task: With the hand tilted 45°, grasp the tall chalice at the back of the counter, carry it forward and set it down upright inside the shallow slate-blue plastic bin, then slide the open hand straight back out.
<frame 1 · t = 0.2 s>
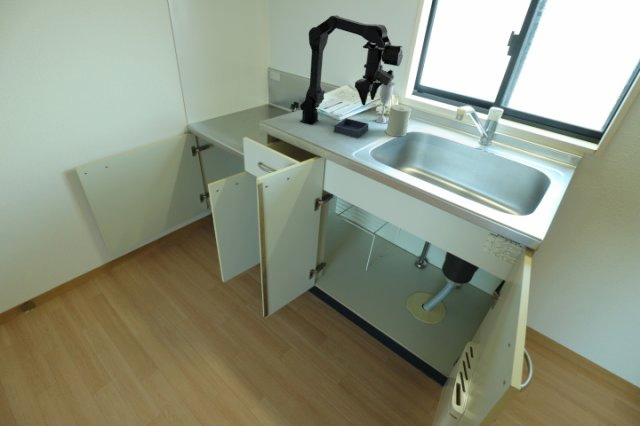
hand: (368, 102, 136), 14 cm above the counter, tool pointing down, fingers open, 9 cm apart
can: (396, 133, 149), on the counter
bin: (351, 130, 148), on the counter
chalice: (381, 121, 160), on the counter
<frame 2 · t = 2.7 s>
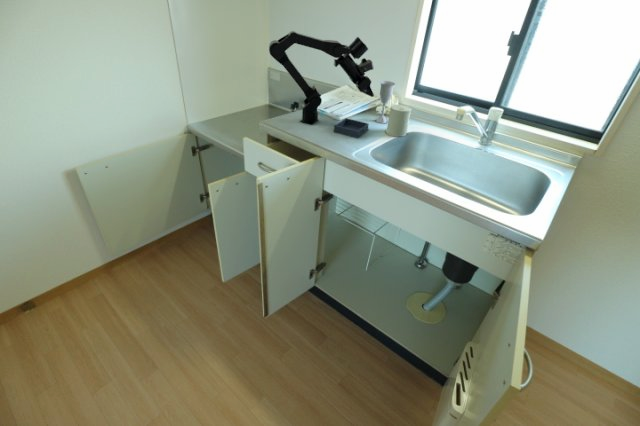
hand: (370, 93, 151), 13 cm above the counter, tool tilted 45°, fingers open, 9 cm apart
nothing on the counter moved.
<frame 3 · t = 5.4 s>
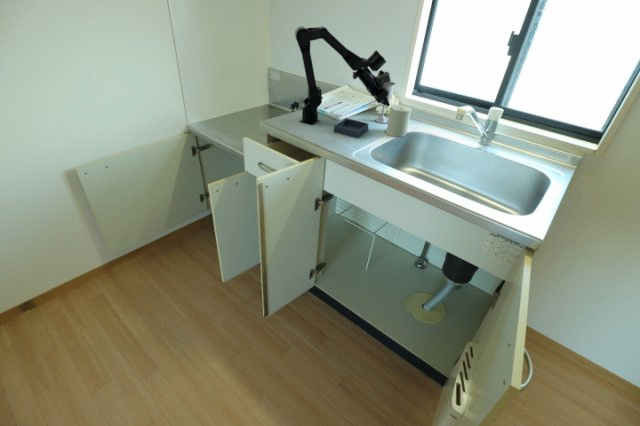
hand: (387, 103, 156), 9 cm above the counter, tool tilted 45°, fingers closed on chalice, 6 cm apart
chalice: (381, 121, 160), on the counter, touching gripper
everything else where it was.
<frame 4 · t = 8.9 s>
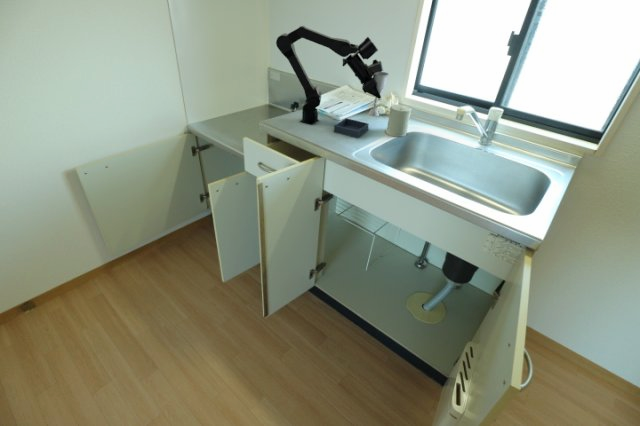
hand: (379, 95, 146), 14 cm above the counter, tool tilted 45°, fingers closed on chalice, 6 cm apart
chalice: (373, 115, 151), point 5 cm above the counter, touching gripper
everything else where it was.
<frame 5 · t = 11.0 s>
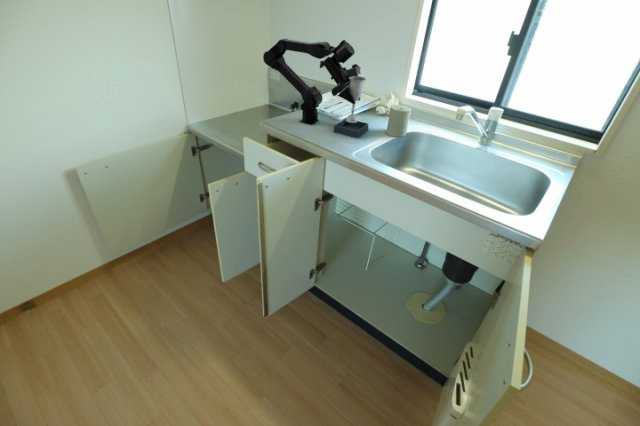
hand: (357, 101, 140), 13 cm above the counter, tool tilted 45°, fingers closed on chalice, 6 cm apart
chalice: (351, 121, 145), point 5 cm above the counter, touching gripper
everything else where it was.
when the fingers open (9 cm above the counter, at t = 12.7 s): chalice stays where it is, resting on bin.
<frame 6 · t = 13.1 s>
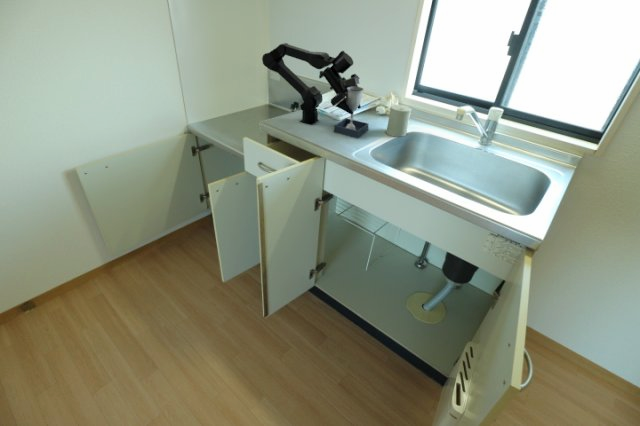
hand: (356, 110, 142), 9 cm above the counter, tool tilted 45°, fingers open, 9 cm apart
chalice: (350, 130, 148), resting on bin, touching gripper
everything else where it was.
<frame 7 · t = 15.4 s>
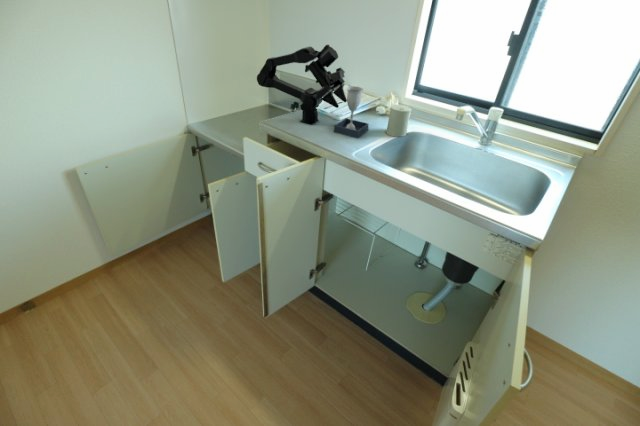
hand: (342, 104, 144), 11 cm above the counter, tool tilted 45°, fingers open, 9 cm apart
chalice: (350, 130, 148), resting on bin
everything else where it was.
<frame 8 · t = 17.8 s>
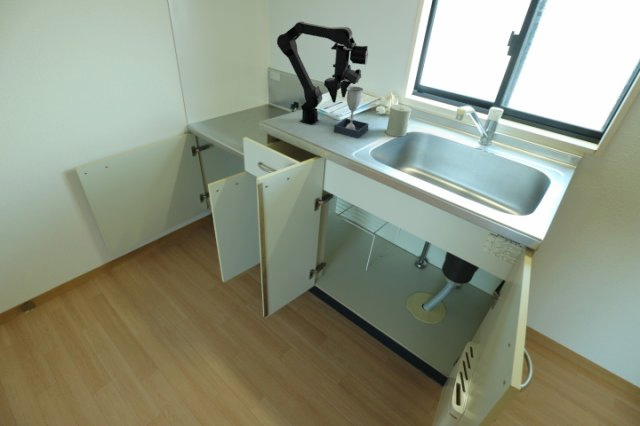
hand: (338, 99, 145), 12 cm above the counter, tool pointing down, fingers open, 9 cm apart
nothing on the counter moved.
at the end: chalice 0.4 cm off-centre in the bin, point 0.3 cm above the bin's base; chalice tilted 0°; the gripper is holding nothing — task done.
